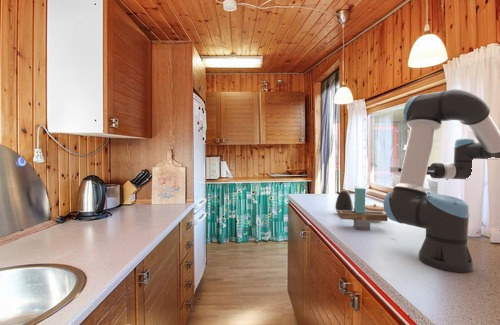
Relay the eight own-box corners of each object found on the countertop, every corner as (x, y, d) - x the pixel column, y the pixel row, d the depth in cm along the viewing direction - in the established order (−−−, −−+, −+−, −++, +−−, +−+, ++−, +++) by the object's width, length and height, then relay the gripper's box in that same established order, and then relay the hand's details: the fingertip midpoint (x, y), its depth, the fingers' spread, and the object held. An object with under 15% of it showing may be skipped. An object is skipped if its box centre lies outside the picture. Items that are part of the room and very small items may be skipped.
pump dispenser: (331, 212, 166) (332, 189, 166) (346, 212, 168) (347, 188, 168) (340, 216, 156) (341, 191, 156) (356, 216, 158) (356, 191, 158)
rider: (365, 219, 130) (366, 189, 129) (356, 218, 130) (357, 189, 130) (361, 216, 136) (362, 187, 136) (353, 215, 137) (354, 187, 136)
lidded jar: (380, 218, 154) (381, 202, 153) (388, 223, 143) (388, 206, 143) (361, 217, 155) (361, 202, 154) (367, 222, 144) (368, 205, 144)
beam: (387, 231, 129) (387, 215, 128) (340, 229, 131) (341, 213, 131) (381, 227, 136) (382, 211, 135) (337, 225, 138) (338, 210, 138)
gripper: (449, 179, 121) (396, 178, 124) (433, 177, 134) (384, 175, 137) (450, 163, 121) (396, 162, 124) (433, 162, 134) (385, 161, 137)
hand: (390, 169), depth 130 cm, fingers closed
